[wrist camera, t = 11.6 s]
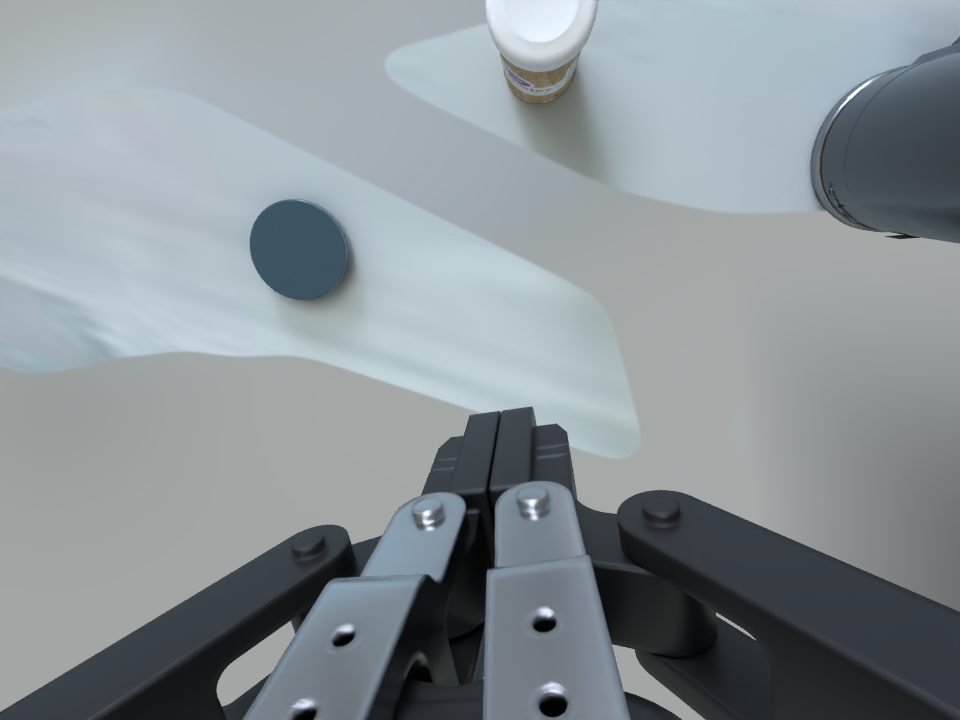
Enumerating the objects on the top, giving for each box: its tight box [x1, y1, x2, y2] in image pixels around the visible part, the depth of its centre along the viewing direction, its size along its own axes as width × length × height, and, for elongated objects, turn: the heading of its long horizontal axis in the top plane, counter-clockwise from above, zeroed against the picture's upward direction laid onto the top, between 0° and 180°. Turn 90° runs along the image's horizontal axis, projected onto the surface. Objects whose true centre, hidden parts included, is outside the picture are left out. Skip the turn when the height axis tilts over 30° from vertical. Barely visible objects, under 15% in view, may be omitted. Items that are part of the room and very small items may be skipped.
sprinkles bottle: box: [486, 0, 598, 103], centre depth 28 cm, size 5×4×14 cm
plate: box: [250, 199, 348, 300], centre depth 39 cm, size 7×7×1 cm
